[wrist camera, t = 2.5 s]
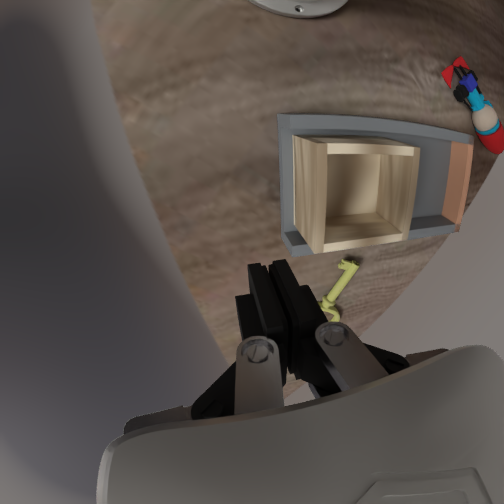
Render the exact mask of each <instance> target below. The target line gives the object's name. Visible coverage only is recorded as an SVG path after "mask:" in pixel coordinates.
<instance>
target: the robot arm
mask: <svg viewBox="0 0 504 504" xmlns="http://www.w3.org/2000/svg"><path fill="white" fill-rule="evenodd" d="M248 1H250V2H251V3H253V4H255V5H256V6H258V7H260V8H262V9H264V10H267V11H270V12H272V13H275V14H279V15H283V16H287V17H295V18H315V17H321V16H324V15H327V14H330V13H332V12H334V11H336V10H337V9H339V8H340V7H342V6H343V5H344V4H345V3H346V2H347V1H348V0H248ZM295 9H296V10H298V11H299V12H297V11H296V10H295ZM248 277H249V288H250V294H246V295H239V296H235V299H236V307H237V314H238V320H239V326H240V332H241V337H242V342H241V343H240V344H239V346H238V348H237V352H236V361H235V362H234V363H233V364H232V365H231V366H230V367H229V368H228V369H227V370H226V371H225V372H224V373H223V375H221V376H220V377H219V378H218V379H217V380H216V381H215V382H214V383H213V384H212V385H211V387H209V388H208V389H207V390H206V391H205V392H204V393H203V394H202V395H201V396H200V397H199V398H198V399H197V400H196V401H195V402H194V404H193V405H191V406H188V407H183V406H178V407H174V408H171V409H167V410H163V411H159V412H154V413H150V414H145V415H141V416H136V417H134V418H131V419H130V420H129V421H128V422H126V424H125V426H124V431H123V434H124V435H122V436H120V437H118V438H117V439H115V440H114V441H112V442H111V443H110V444H109V445H108V447H107V448H106V450H105V452H104V454H103V457H102V460H101V463H100V468H99V474H98V482H97V497H96V498H97V499H96V504H504V361H503V359H502V358H501V357H500V356H499V355H498V354H497V353H496V352H495V351H494V350H492V349H491V348H489V347H487V346H483V345H469V346H463V347H458V348H455V349H452V350H448V349H436V350H431V351H426V352H420V353H414V354H408V355H406V357H402V356H400V355H398V354H395V353H392V352H389V351H386V350H383V349H380V348H377V347H374V346H371V345H368V344H365V343H362V341H361V340H360V339H359V338H358V337H357V335H356V334H355V333H354V332H353V331H352V330H351V328H349V327H348V326H347V325H345V324H343V323H341V322H333V321H330V322H328V320H327V318H326V316H325V314H324V313H323V311H322V309H321V307H320V305H319V304H318V302H317V300H316V298H315V296H314V295H313V293H312V291H311V289H310V287H309V286H308V285H302V286H299V284H298V282H297V280H296V278H295V276H294V274H293V272H292V270H291V268H290V267H289V265H288V263H287V261H286V259H283V260H276V261H273V264H271V265H269V273H268V270H267V268H266V266H265V265H264V266H261V264H260V263H255V264H248ZM287 367H288V370H289V373H290V374H292V373H294V375H295V377H296V380H298V379H302V380H303V381H306V382H308V385H309V388H310V390H311V392H312V393H313V395H314V397H315V399H314V400H310V401H306V402H302V403H298V404H293V405H289V406H284V398H283V386H284V385H285V384H286V374H287Z"/></svg>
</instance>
